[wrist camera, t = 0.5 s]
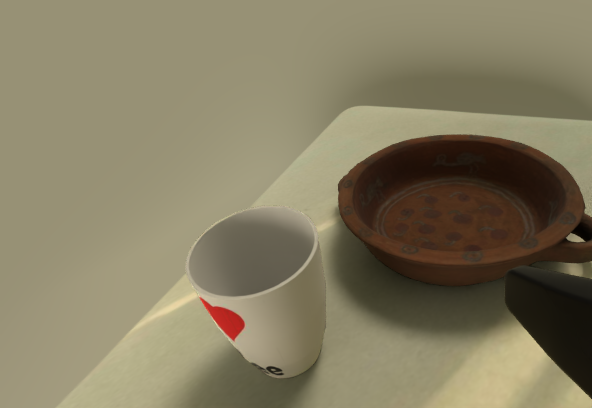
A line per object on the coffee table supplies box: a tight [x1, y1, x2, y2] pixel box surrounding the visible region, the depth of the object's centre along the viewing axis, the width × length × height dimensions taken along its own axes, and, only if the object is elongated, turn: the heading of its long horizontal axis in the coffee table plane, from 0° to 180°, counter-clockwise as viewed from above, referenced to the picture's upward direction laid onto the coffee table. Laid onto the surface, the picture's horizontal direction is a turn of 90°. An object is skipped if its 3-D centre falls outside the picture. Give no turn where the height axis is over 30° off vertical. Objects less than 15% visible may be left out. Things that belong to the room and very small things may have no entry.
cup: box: [186, 205, 326, 378], centre depth 28 cm, size 8×8×10 cm
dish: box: [338, 135, 592, 286], centre depth 36 cm, size 18×22×5 cm
